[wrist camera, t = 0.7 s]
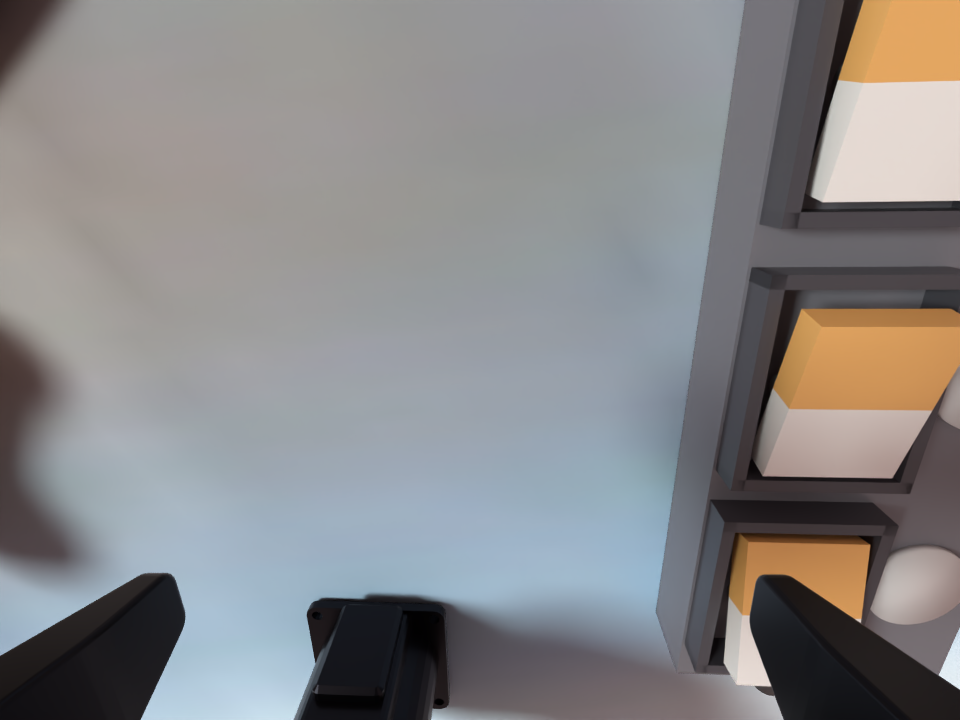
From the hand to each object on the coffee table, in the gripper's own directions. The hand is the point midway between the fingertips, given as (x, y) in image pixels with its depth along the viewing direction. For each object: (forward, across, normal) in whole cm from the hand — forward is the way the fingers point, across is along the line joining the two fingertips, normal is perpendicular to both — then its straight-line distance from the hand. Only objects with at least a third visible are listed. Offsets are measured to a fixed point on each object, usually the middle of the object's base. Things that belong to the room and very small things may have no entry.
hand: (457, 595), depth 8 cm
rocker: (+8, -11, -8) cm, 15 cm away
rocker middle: (+8, -11, 0) cm, 13 cm away
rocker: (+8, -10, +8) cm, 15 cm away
